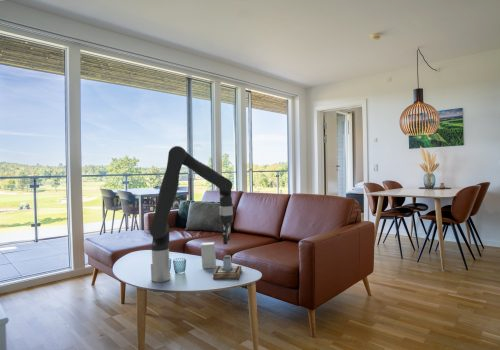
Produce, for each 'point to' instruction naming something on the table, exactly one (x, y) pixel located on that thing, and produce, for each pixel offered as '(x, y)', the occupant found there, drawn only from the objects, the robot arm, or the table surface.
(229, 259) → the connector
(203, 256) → the skincare box
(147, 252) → the table surface
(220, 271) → the walnut box
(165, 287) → the table surface
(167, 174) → the robot arm
